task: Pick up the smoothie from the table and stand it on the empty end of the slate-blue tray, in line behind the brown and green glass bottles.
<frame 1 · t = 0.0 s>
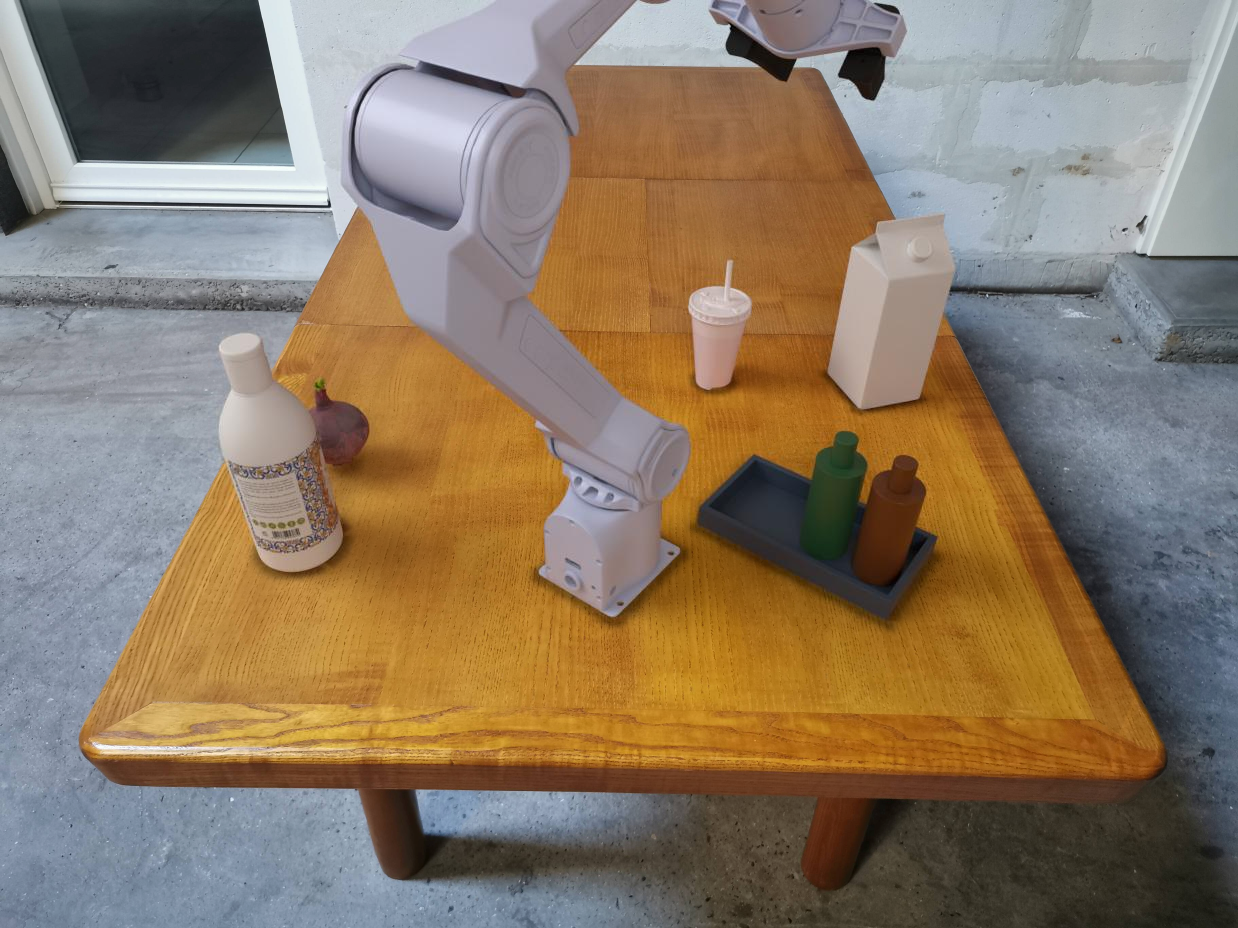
hand: (830, 79, 70), 32 cm above the table, tool tilted 50°, fingers open, 7 cm apart
brown bottle: (875, 568, 72), resting on tray
bath foam: (302, 546, 75), on the table
green bottle: (823, 543, 75), resting on tray
vegetable: (341, 465, 83), on the table
smoothie: (712, 382, 94), on the table
milk carton: (871, 388, 94), on the table
tray: (811, 542, 75), on the table
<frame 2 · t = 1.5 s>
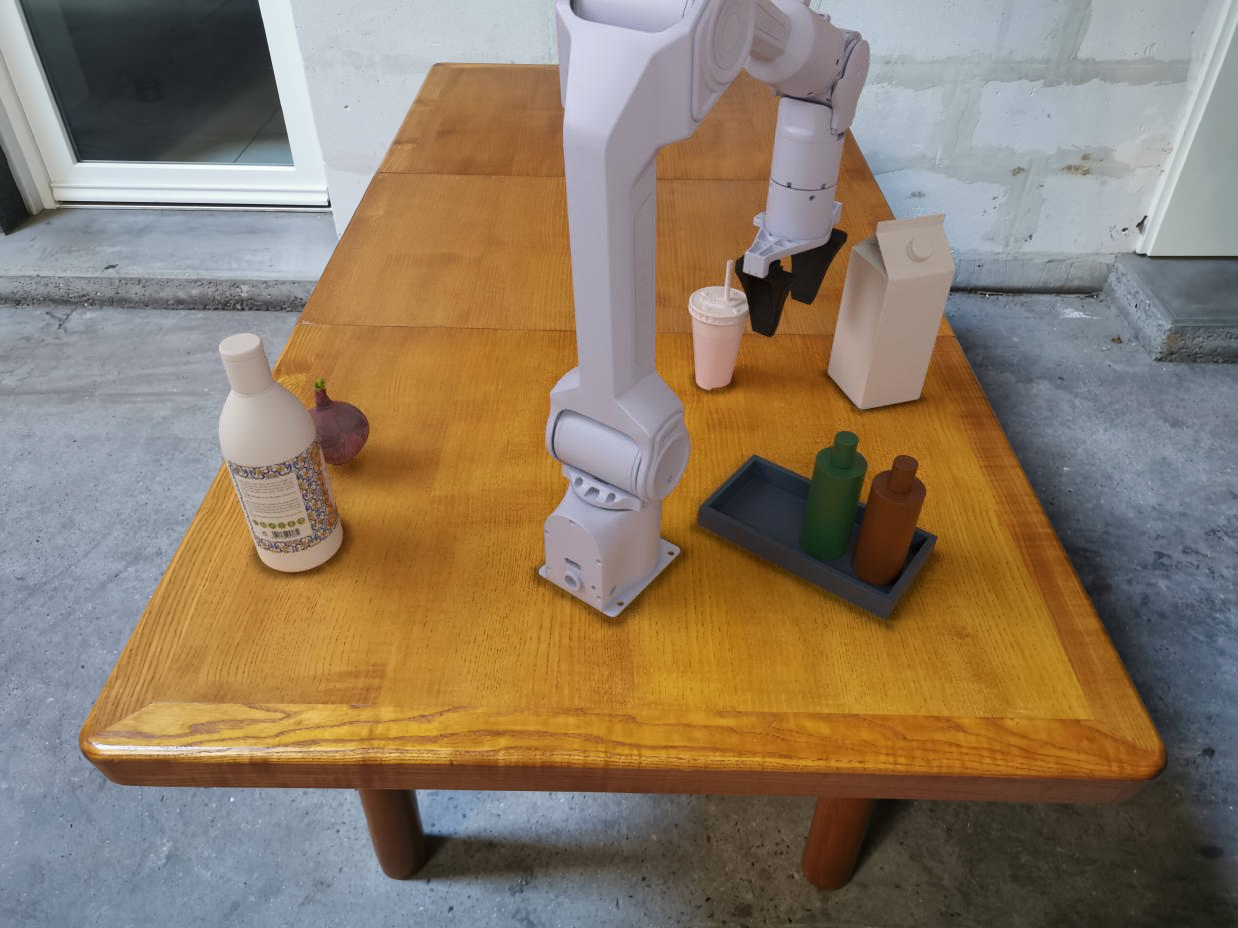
hand: (783, 316, 84), 10 cm above the table, tool pointing down, fingers open, 7 cm apart
nothing on the table moved.
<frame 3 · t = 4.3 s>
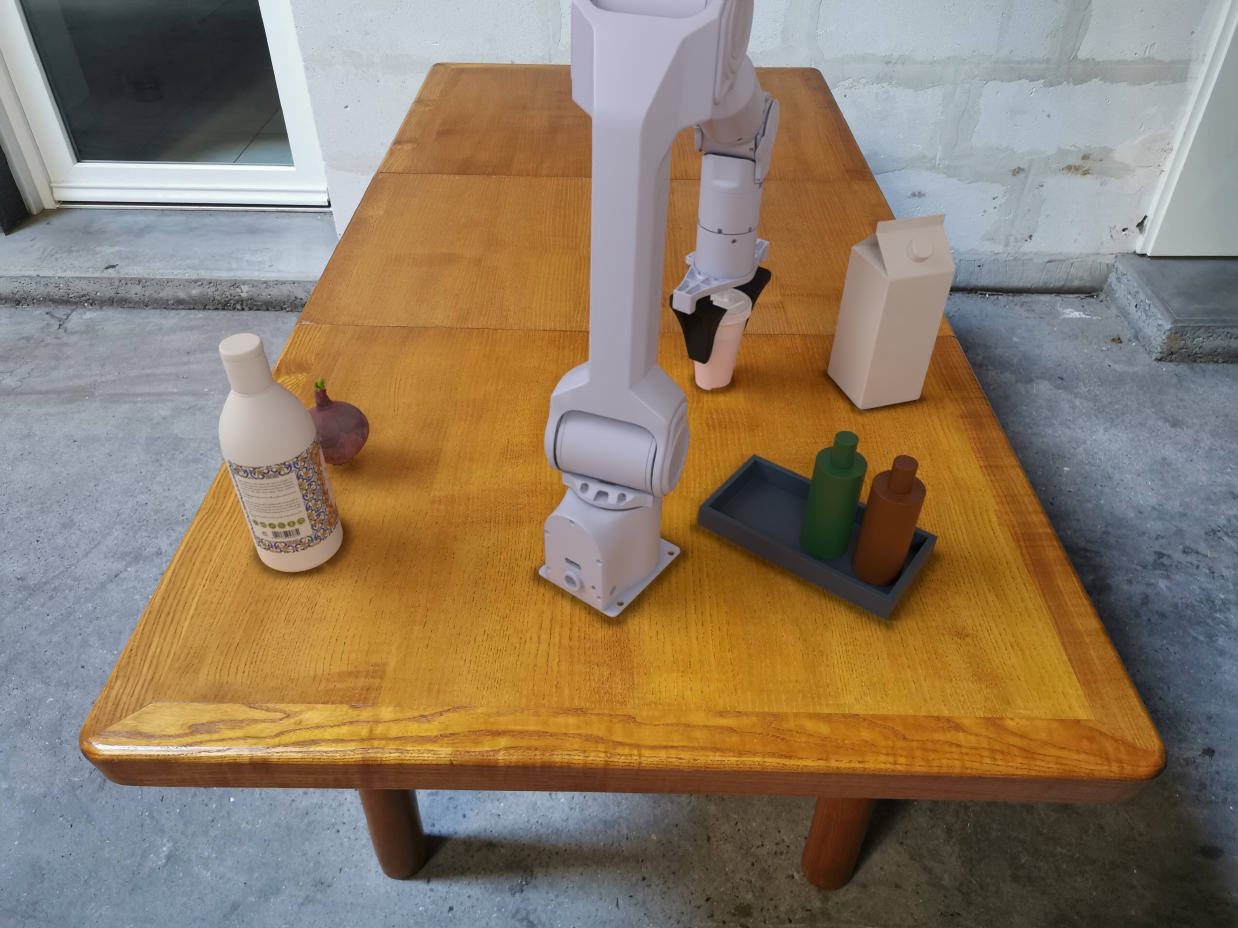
hand: (716, 345, 91), 4 cm above the table, tool pointing down, fingers closed on smoothie, 6 cm apart
smoothie: (712, 382, 94), on the table, touching gripper
everything else where it was.
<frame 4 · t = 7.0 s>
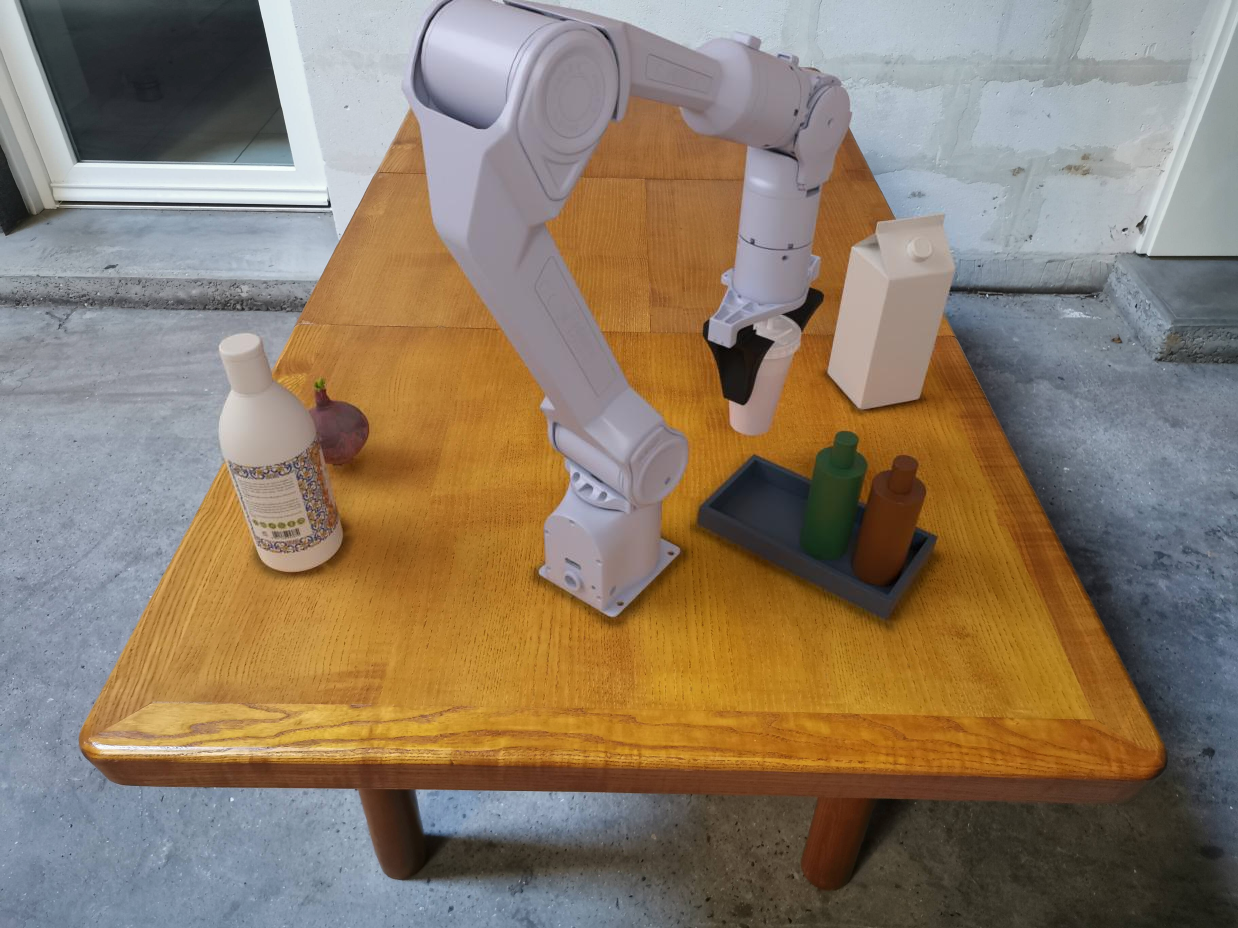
hand: (755, 381, 76), 10 cm above the table, tool pointing down, fingers closed on smoothie, 6 cm apart
smoothie: (750, 424, 79), point 6 cm above the table, touching gripper
everything else where it was.
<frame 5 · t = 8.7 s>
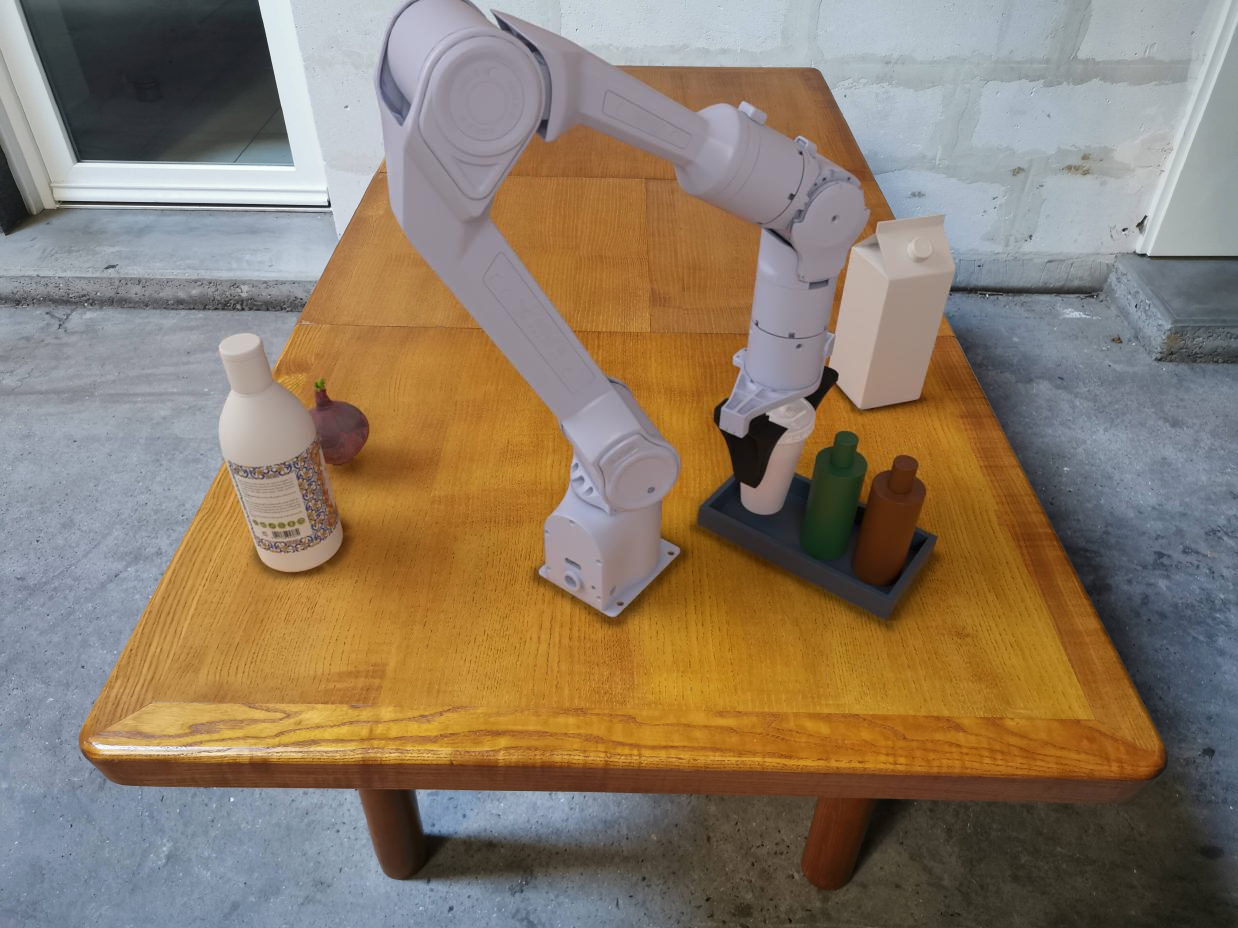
hand: (767, 461, 74), 6 cm above the table, tool pointing down, fingers closed on smoothie, 6 cm apart
smoothie: (761, 501, 77), point 2 cm above the table, touching gripper
everything else where it was.
when the fingers open (5 cm above the table, at t = 9.9 s): smoothie stays where it is, resting on tray.
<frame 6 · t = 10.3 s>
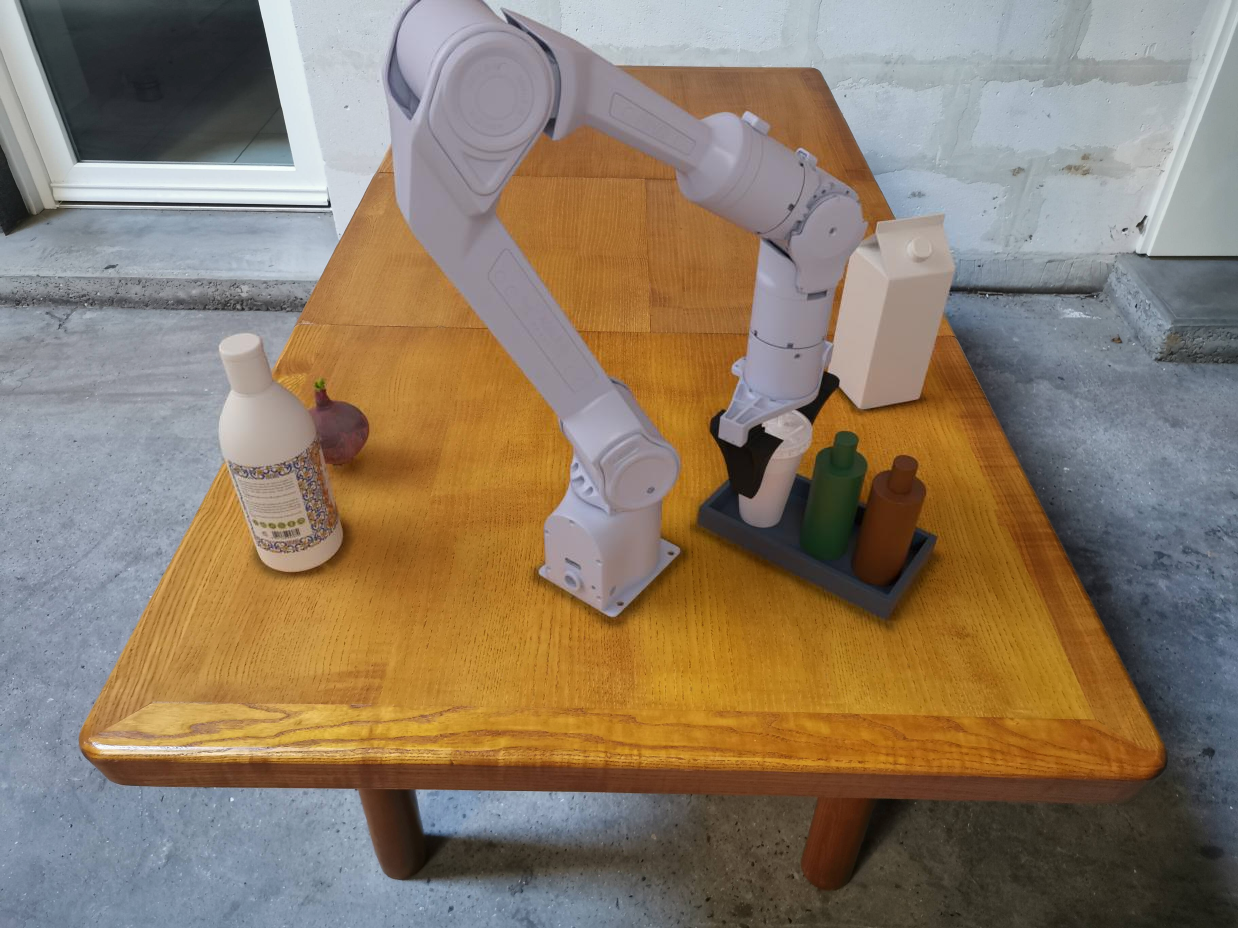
hand: (766, 468, 74), 6 cm above the table, tool pointing down, fingers open, 7 cm apart
smoothie: (759, 514, 78), resting on tray
everything else where it was.
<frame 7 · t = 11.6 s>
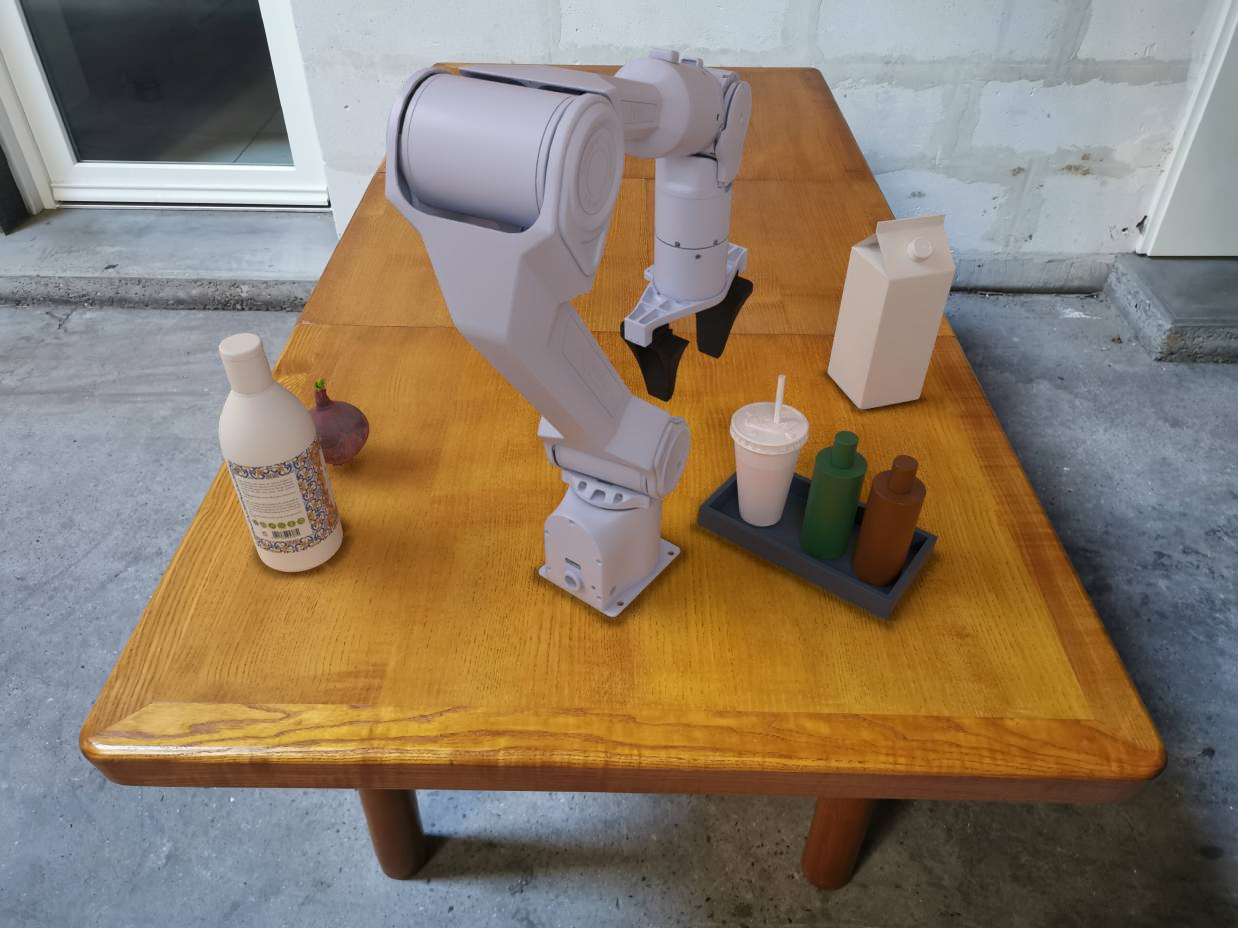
hand: (685, 374, 76), 10 cm above the table, tool pointing down, fingers open, 7 cm apart
nothing on the table moved.
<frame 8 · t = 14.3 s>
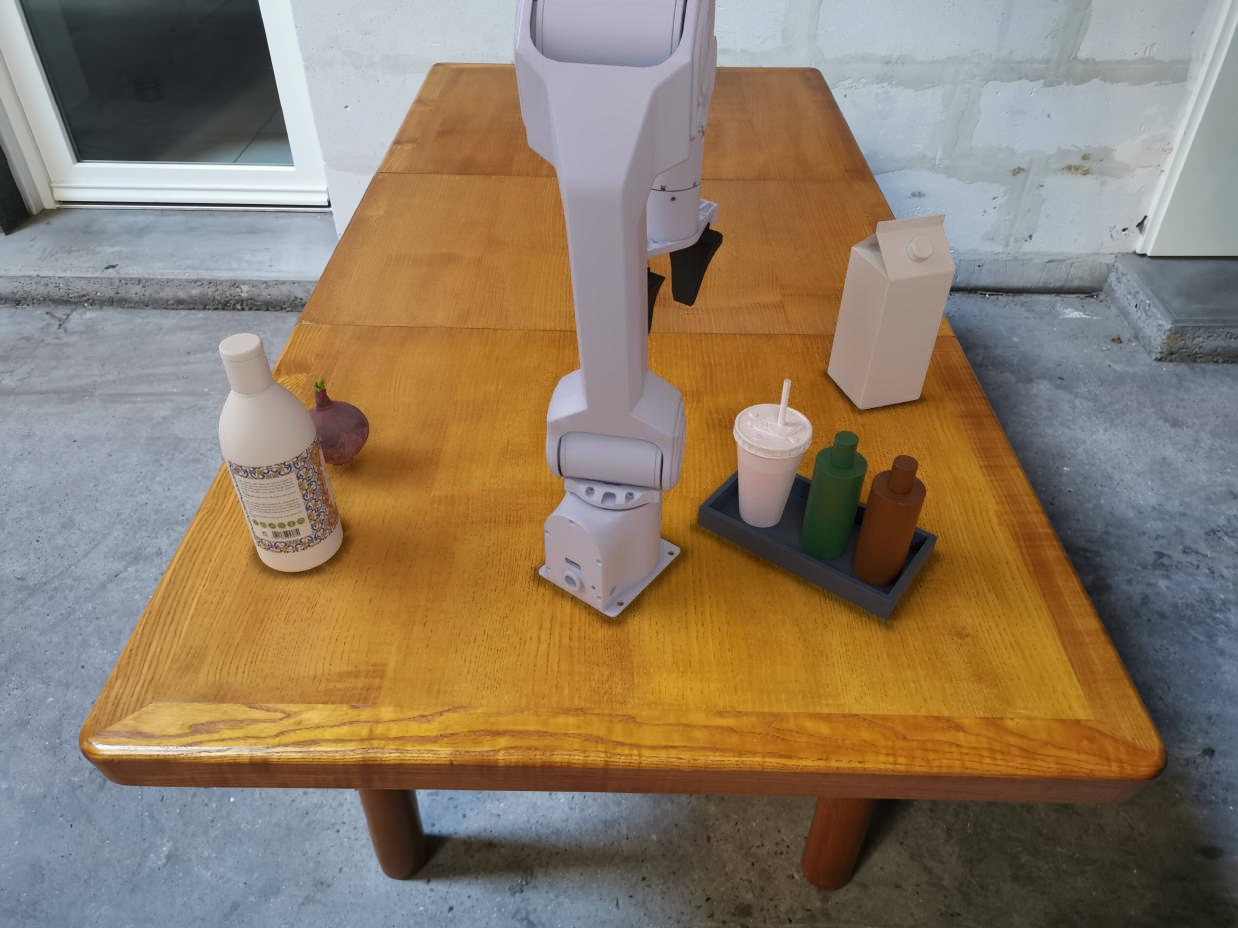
hand: (661, 318, 84), 10 cm above the table, tool pointing down, fingers open, 7 cm apart
nothing on the table moved.
at the end: smoothie 0.0 cm from the target spot in the tray, point 0.3 cm above the tray's base; smoothie tilted 0°; brown bottle moved 0.0 cm from its start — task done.
